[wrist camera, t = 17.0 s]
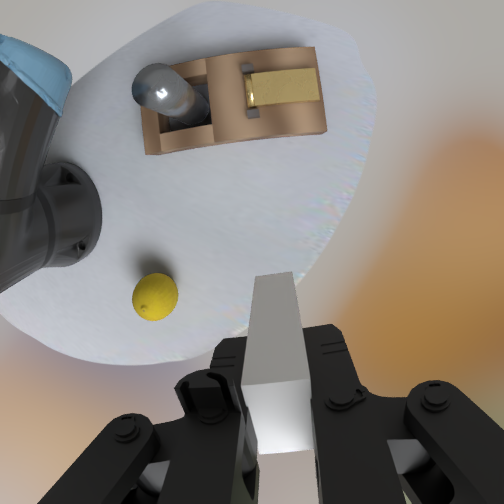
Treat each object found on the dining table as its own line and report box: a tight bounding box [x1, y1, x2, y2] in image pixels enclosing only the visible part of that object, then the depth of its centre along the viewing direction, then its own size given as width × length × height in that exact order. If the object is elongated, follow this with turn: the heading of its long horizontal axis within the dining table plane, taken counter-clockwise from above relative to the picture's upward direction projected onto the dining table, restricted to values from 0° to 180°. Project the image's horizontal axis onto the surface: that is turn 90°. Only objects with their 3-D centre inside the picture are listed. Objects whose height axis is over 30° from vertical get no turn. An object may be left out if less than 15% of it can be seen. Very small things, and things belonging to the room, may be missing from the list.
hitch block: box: [140, 47, 327, 155], centre depth 30 cm, size 20×10×5 cm, turn 97°
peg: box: [132, 63, 209, 125], centre depth 27 cm, size 4×4×13 cm
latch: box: [244, 68, 320, 108], centre depth 28 cm, size 7×4×1 cm, turn 96°
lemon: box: [132, 273, 178, 321], centre depth 36 cm, size 6×6×8 cm
